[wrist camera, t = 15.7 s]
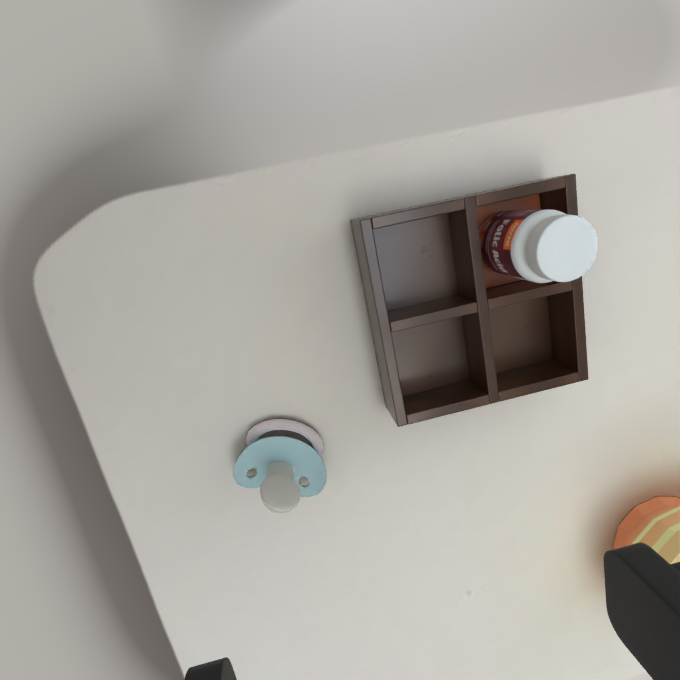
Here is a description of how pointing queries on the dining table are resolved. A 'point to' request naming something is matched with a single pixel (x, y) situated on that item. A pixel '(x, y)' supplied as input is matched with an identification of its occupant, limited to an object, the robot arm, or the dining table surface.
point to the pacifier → (281, 464)
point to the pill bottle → (538, 245)
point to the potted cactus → (653, 527)
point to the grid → (465, 306)
